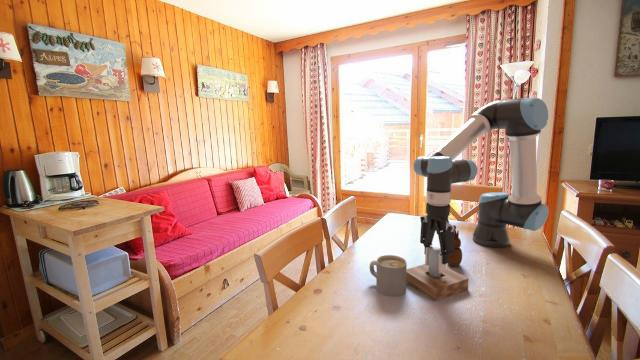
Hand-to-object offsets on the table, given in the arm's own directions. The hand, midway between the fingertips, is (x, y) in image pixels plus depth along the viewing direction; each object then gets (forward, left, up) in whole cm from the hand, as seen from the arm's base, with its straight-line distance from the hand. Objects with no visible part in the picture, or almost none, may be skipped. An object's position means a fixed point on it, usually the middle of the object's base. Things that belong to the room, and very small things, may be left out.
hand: (435, 267), depth 108 cm
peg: (0, 0, -5) cm, 5 cm away
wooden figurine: (-18, -8, -7) cm, 21 cm away
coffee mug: (+15, -7, -7) cm, 18 cm away
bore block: (0, 0, -6) cm, 6 cm away
